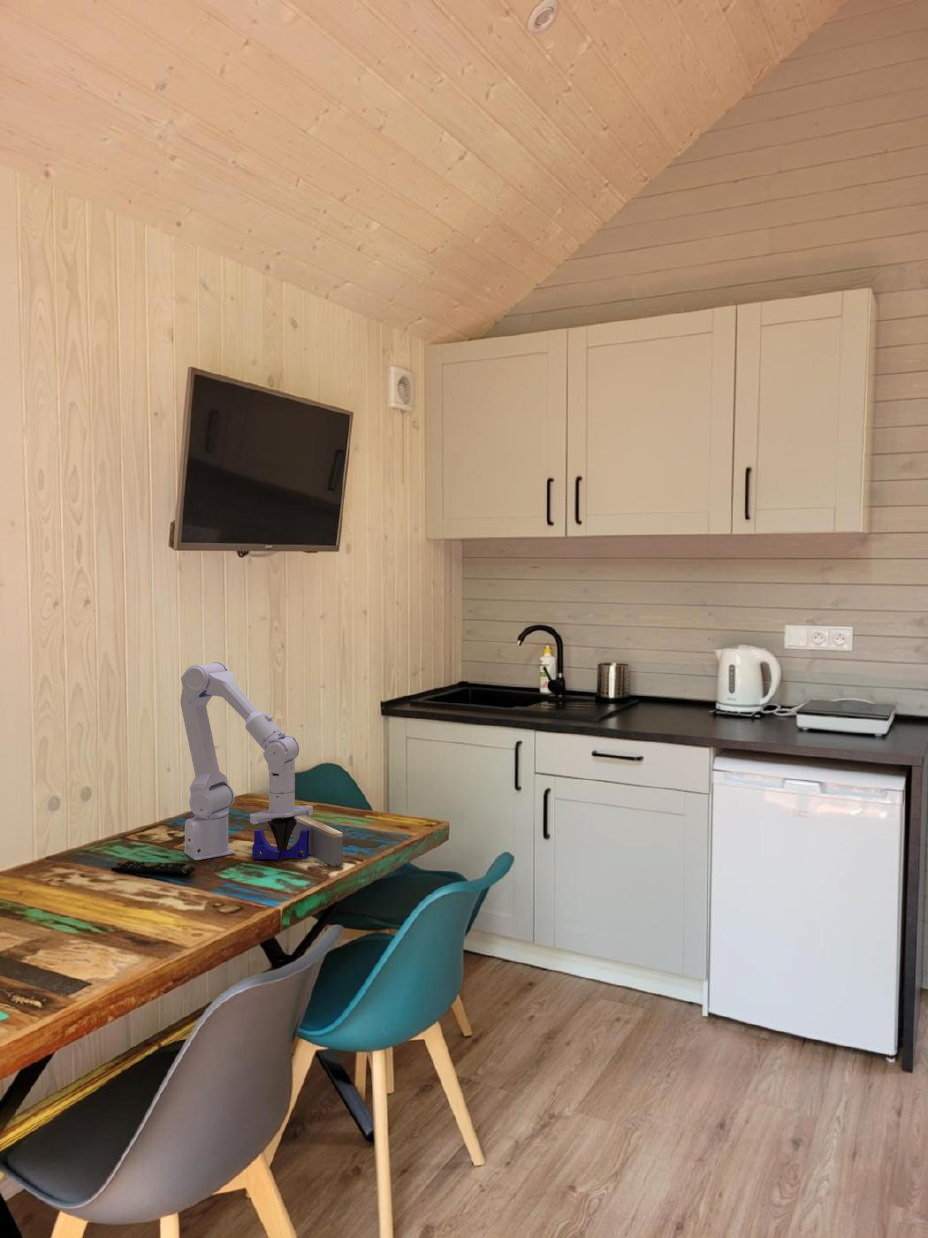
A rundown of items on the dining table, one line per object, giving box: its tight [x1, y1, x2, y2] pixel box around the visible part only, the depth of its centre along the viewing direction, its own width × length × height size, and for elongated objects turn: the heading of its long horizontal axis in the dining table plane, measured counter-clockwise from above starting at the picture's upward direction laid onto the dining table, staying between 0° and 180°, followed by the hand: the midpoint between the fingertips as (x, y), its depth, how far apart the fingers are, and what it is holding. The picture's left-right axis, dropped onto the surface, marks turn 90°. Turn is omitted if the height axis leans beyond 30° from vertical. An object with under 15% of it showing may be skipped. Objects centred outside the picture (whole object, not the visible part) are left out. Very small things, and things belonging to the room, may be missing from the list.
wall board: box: [292, 815, 344, 867], centre depth 217 cm, size 2×20×7 cm, turn 36°
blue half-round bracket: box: [251, 828, 310, 860], centre depth 214 cm, size 12×4×6 cm, turn 89°
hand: (282, 850), depth 211 cm, fingers closed
